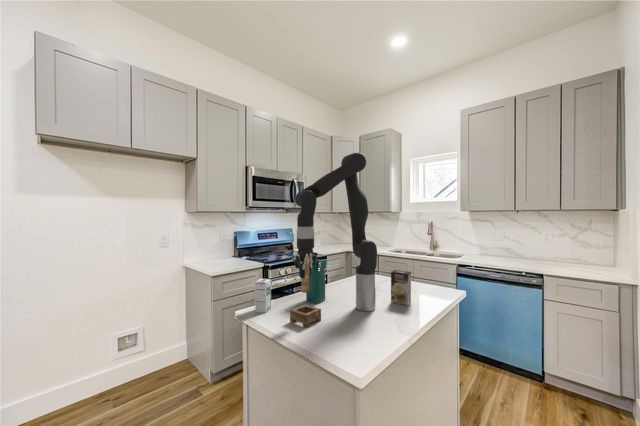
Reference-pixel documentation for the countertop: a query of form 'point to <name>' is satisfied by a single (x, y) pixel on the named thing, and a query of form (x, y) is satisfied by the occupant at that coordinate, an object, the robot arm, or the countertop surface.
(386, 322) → the countertop surface
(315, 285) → the teal bottle
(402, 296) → the coffee box
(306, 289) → the rod
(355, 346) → the countertop surface
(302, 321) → the brown wooden square frame
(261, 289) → the syrup box
